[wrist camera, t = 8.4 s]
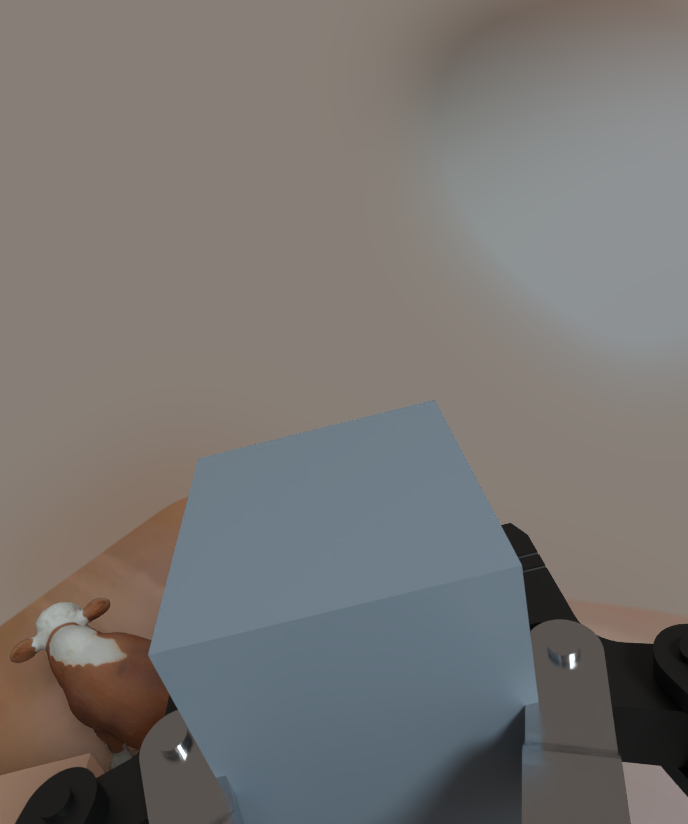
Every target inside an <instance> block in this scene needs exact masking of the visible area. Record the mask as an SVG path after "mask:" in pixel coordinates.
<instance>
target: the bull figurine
mask: <svg viewBox="0 0 688 824" xmlns="http://www.w3.org/2000/svg"><path fill="white" fill-rule="evenodd" d="M109 607H110V601H109V600H108V599H106V598H98V599H94V600H92V601H91V602H90V603H89V604H88V605H87V606H86V607H85V608H84V609H82V610H81V608H80V607H79V606H78V605H77V604H74V603H71V602H67V603H66V602H60V603H57V604H54V605H52V606H50V607H49V608H48V609H46V610H44V611H43V612H42V613H41V615H40V616H39V618H38V620H37V622H36V631H37V635H36V636H34V637H32V638H29V639H25V640H23V641H21V642H20V643H19V644H17V645H16V646H15V647H14V648H13V650H12V651H11V653H10V660H11V661H12V662H15V663H21V662H24V661H27V660H29V659H30V658H32V657H33V656H34V655H35V654H36V653H37V652H38V651H40V650H45V651H46V652H47V655H48V660H49V663H50V667H51V669H52V671H53V673H54V675H55V677H56V679H57V681H58V683H59V684H60V686H61V687H62V688H63V690H64V693H65V695H66V698H67V700H68V703H69V706H70V709H71V711H72V713H73V714H74V715H75V717H76V718H77V719H78V720H79V721H80V722H82V723H83V724H85V725H87V726H89V727H91V728H93V729H94V731H95V733H96V734H97V736H98V737H99V738H100V739H101V740H102V741H103V742H104V743H105V746H106V749H107V750H108V751H109V752H110V753H112V754H113V761H112V762H111V765H110V770H111V769H113V768H115V767H117V766H119V765H120V764H122V763H124V762H126V761H128V760H129V759H131V758H132V756H131V754H130V752H129V751H128V750H127V749H126V744H127V745H129V746H131V747H133V748H135V749H137V750H140V749H141V746H142V743H143V741H144V739H145V737H146V735H147V734H148V732H149V731H150V730H151V728H152V727H153V726H154V725H155V724H156V723H157V722H158V721H159V720H161V719H162V718H163V717H165V713H166V708H167V703H168V698H169V692H168V691H167V689H166V687H165V685H164V683H163V682H162V680H161V678H160V676H159V674H158V673H157V671H156V669H155V667H154V665H153V664H152V662H151V660H150V658H149V656H148V653H149V649H150V645H151V641H152V640H149V639H145V638H143V637H139V636H136V635H131V634H127V633H101V632H98V631H96V630H95V629H93V628H90V627H89V625H88V623H89V622H91V621H92V620H94V619H96V618H98V617H100V616H101V615H103V614H104V613H105V612H106V611H107V610H108V609H109Z"/></svg>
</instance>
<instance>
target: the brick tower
mask: <svg viewBox="0 0 688 824" xmlns="http://www.w3.org/2000/svg"><path fill="white" fill-rule="evenodd" d="M72 767H84V768H87V769H89V770H90V771H91V772H92V773H93V774H94V776H95V777H96V778H97V777H99V776H101V775H102V774H104V773H105V772H104V771H103V769H102V768H101V767H100V765H99V764H98V762H97V761H96V760H95V758H94V757H93V755H92V754H91V753H88V754H84V755H80V756H76V757H72V758H68V759H64V760H60V761H56V762H52V763H48V764H44V765H39V766H35V767H31V768H27V769H23V770H19V771H15V772H11V773H7V774H3V775H0V824H15V822H16V821H17V819H18V817H19V815H20V814H21V812H22V810H23V808H24V807H25V805H26V803H27V802H28V800H29V799H30V797H31V796H32V795H33V793H34V792H35V791H36V790H37V789H38V788H39V787H40V786H41V785H42V784H43V783H44V782H45V781H46V780H48V779H49V778H50V777H52V776H53V775H55V774H57V773H58V772H60V771H63V770H65V769H68V768H72Z"/></svg>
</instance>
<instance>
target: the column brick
mask: <svg viewBox="0 0 688 824" xmlns="http://www.w3.org/2000/svg"><path fill="white" fill-rule="evenodd" d="M148 656H149V658H150V660H151V662H152V664H153V665H154V667H155V669H156V671H157V673H158V674H159V676H160V678H161V680H162V682H163V683H164V685H165V687H166V689H167V691H168V692H169V694H170V696H171V698H172V700H173V701H174V703H175V705H176V707H177V709H178V710H179V712H180V714H181V716H182V718H183V719H184V721H185V723H186V725H187V727H188V729H189V730H190V732H191V734H192V736H193V738H194V739H195V741H196V743H197V745H198V747H199V748H200V750H201V752H202V754H203V756H204V757H205V759H206V761H207V763H208V765H209V766H210V768H211V770H212V772H213V774H214V775H215V777H216V778H217V777H221V776H225V775H226V777H227V779H228V780H229V782H230V784H231V786H232V788H233V790H234V791H235V794H236V797H237V801H238V804H239V807H240V811H241V814H242V817H243V820H244V823H245V824H522V748H523V743H525V705H528V704H532V703H537V702H539V701H538V693H537V685H536V677H535V669H534V660H533V652H532V644H531V636H530V627H529V619H528V611H527V603H526V594H525V586H524V578H523V570H522V564H521V562H520V561H519V559H518V557H517V555H516V553H515V551H514V549H513V547H512V545H511V543H510V542H509V540H508V538H507V536H506V534H505V532H504V530H503V528H502V526H501V525H500V523H499V521H498V519H497V517H496V515H495V514H494V511H493V510H492V508H491V506H490V504H489V502H488V500H487V498H486V496H485V494H484V492H483V490H482V489H481V487H480V485H479V483H478V481H477V479H476V477H475V475H474V473H473V472H472V470H471V468H470V466H469V464H468V462H467V460H466V458H465V456H464V455H463V453H462V451H461V449H460V447H459V445H458V443H457V441H456V439H455V437H454V435H453V434H452V432H451V430H450V428H449V426H448V424H447V422H446V420H445V418H444V417H443V415H442V413H441V411H440V409H439V407H438V405H437V403H436V401H435V400H432V401H428V402H424V403H420V404H416V405H412V406H408V407H404V408H400V409H396V410H392V411H388V412H384V413H381V414H376V415H372V416H368V417H364V418H360V419H356V420H352V421H348V422H344V423H340V424H336V425H332V426H328V427H324V428H320V429H315V430H312V431H307V432H303V433H299V434H296V435H291V436H287V437H283V438H279V439H275V440H271V441H267V442H263V443H259V444H255V445H251V446H247V447H243V448H239V449H235V450H231V451H227V452H223V453H219V454H215V455H211V456H207V457H203V458H199V459H198V462H197V465H196V469H195V474H194V477H193V481H192V485H191V489H190V493H189V497H188V501H187V504H186V508H185V512H184V516H183V520H182V524H181V528H180V532H179V536H178V540H177V543H176V547H175V551H174V555H173V559H172V563H171V567H170V571H169V575H168V579H167V582H166V586H165V590H164V594H163V598H162V602H161V606H160V610H159V614H158V618H157V621H156V625H155V629H154V633H153V637H152V641H151V645H150V649H149V653H148Z"/></svg>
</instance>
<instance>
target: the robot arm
mask: <svg viewBox="0 0 688 824" xmlns="http://www.w3.org/2000/svg"><path fill="white" fill-rule="evenodd" d="M501 526H502V528H503V530H504V532H505V534H506V536H507V538H508V540H509V542H510V543H511V545H512V547H513V549H514V551H515V553H516V555H517V557H518V559H519V561H520V562H521V564H522V570H523V578H524V586H525V594H526V603H527V611H528V619H529V627H530V636H531V644H532V652H533V660H534V669H535V677H536V685H537V693H538V701H539V702H537V703H532V704H528V705H525V743H523V748H522V824H631V823H630V816H629V808H628V801H627V794H626V787H625V780H624V773H623V766H622V762H630V763H640V764H649V765H659V766H661V767H662V768H663V769H664V770H665V771H666V772H667V774H668V775H669V776H670V777H671V778H672V779H673V780H674V782H675V783H676V784H677V785H678V786H679V787H680V788H681V790H682V791H683V792H684V793H685V794H686V795H687V796H688V624H678V625H674V626H671V627H668V628H666V629H664V630H663V631H661V632H660V633H659V634H658V635H657V637H656V638H655V641H654V644H644V643H624V642H616V641H611V640H608V639H605V638H602V637H600V636H597V635H596V634H595V633H594V632H593V631H592V630H590V629H589V628H587V627H586V626H584V625H582V624H581V623H580V622H579V621H578V620H577V618H576V617H575V615H574V614H573V612H572V610H571V609H570V607H569V605H568V603H567V602H566V600H565V598H564V596H563V595H562V593H561V591H560V590H559V588H558V586H557V584H556V583H555V581H554V579H553V578H552V576H551V574H550V573H549V571H548V569H547V568H546V567H545V564H544V562H543V560H542V559H541V557H540V555H538V553H537V550H536V549H535V547H534V545H533V543H532V542H531V540H530V538H529V536H528V535H527V534H525V533H524V532H523V531H521V530H520V529H518V528H517V527H515V526H514V525H513V524H511V523H508V524H504V525H501ZM15 824H245V823H244V820H243V817H242V814H241V811H240V807H239V804H238V801H237V797H236V794H235V791H234V790H233V788H232V786H231V784H230V782H229V780H228V779H227V777H226V775H225V776H221V777H217V778H216V777H215V775H214V774H213V772H212V770H211V768H210V766H209V765H208V763H207V761H206V759H205V757H204V756H203V754H202V752H201V750H200V748H199V747H198V745H197V743H196V741H195V739H194V738H193V736H192V734H191V732H190V730H189V729H188V727H187V725H186V723H185V721H184V719H183V718H182V716H181V714H180V712H179V710H178V709H177V707H176V705H175V703H174V701H173V700H172V698H171V696H170V694H169V698H168V703H167V708H166V713H165V717H163V718H162V719H161V720H159V721H158V722H157V723H156V724H155V725H154V726H153V727H152V728H151V730H150V731H149V732H148V734H147V735H146V737H145V739H144V741H143V743H142V746H141V749H140V752H139V753H138V754H137V755H135V756H134V757H132V758H131V759H129V760H128V761H126V762H124V763H122V764H120V765H119V766H117V767H115V768H113V769H111V770H110V771H108V772H106V773H104V774H102V775H101V776H99V777H97V778H96V777H95V776H94V774H93V773H92V772H91V771H90V770H89V769H87V768H84V767H72V768H68V769H65V770H63V771H60V772H58V773H57V774H55V775H53V776H52V777H50V778H49V779H48V780H46V781H45V782H44V783H43V784H42V785H41V786H40V787H39V788H38V789H37V790H36V791H35V792H34V793H33V795H32V796H31V797H30V799H29V800H28V802H27V803H26V805H25V807H24V808H23V810H22V812H21V814H20V815H19V817H18V819H17V821H16V822H15Z"/></svg>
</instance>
